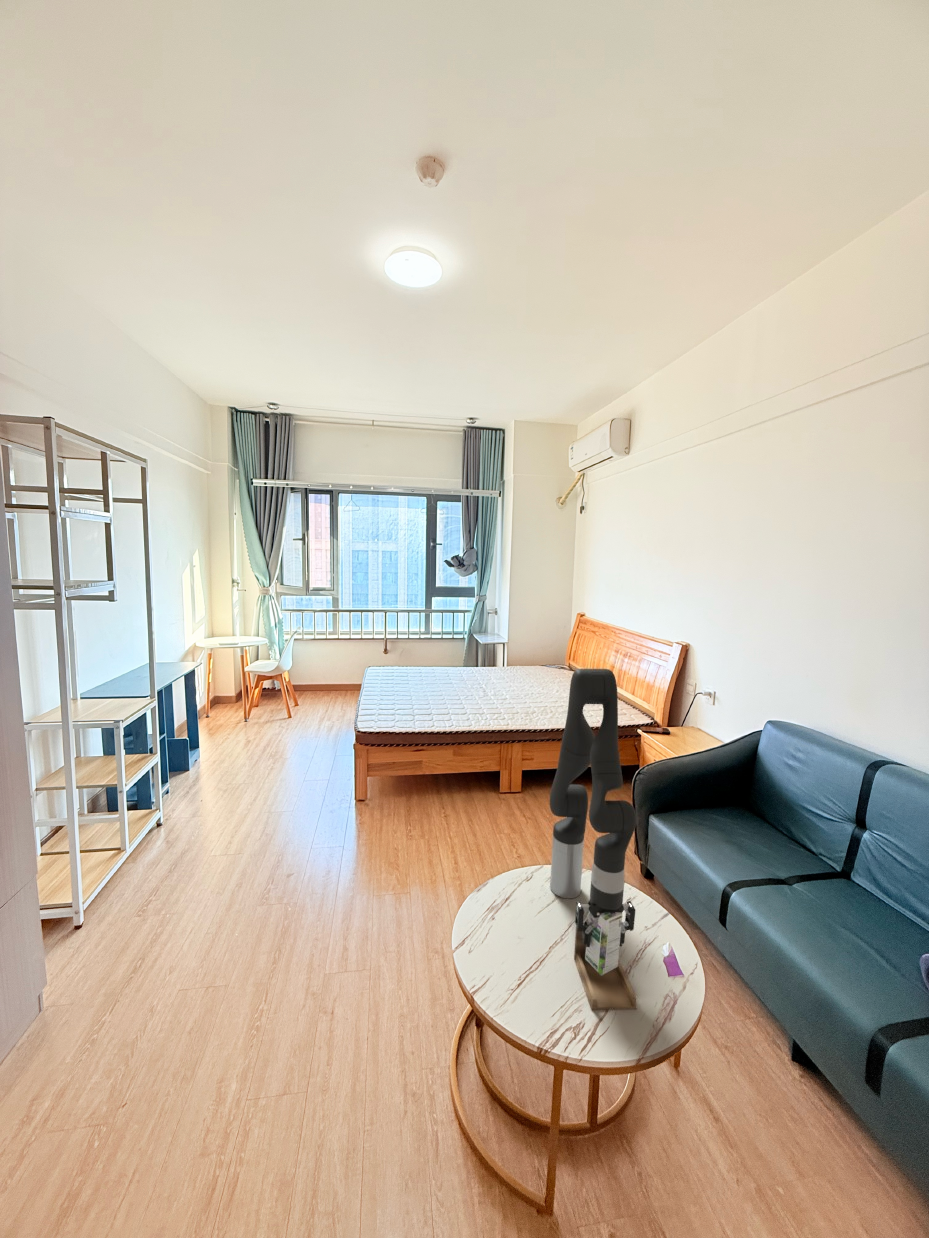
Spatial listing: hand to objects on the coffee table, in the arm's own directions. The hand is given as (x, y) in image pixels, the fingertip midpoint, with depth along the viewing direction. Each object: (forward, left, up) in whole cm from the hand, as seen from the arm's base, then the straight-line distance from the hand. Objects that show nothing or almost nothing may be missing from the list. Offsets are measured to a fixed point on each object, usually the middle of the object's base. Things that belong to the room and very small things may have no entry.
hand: (602, 944), depth 118 cm
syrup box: (0, 0, -5) cm, 5 cm away
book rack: (+2, 0, -8) cm, 9 cm away
